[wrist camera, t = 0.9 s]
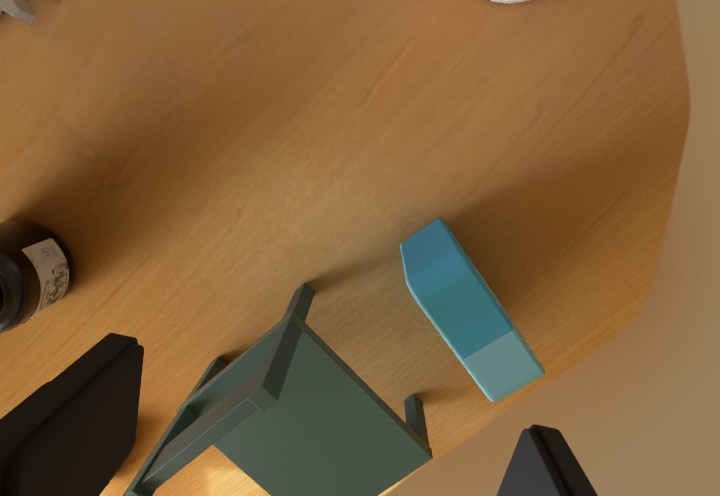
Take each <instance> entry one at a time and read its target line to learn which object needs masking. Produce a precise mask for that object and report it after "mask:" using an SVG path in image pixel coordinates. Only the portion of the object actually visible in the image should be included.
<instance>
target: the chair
mask: <svg viewBox="0 0 720 496" xmlns="http://www.w3.org/2000/svg"><path fill="white" fill-rule="evenodd" d="M314 294H315V292H314V291H313V290H312V289H311V288H310V287H309V286H308V285H307V284H306V283H304V284H303V285H302V286H300V287H299V288H298V289H297V290H296V291H295V293H294V295H293V297H292V300H291V302H290V304H289V306H288V308H287V311H286V313H285V315H284V317H283V319H282V320H281V321H280V322H279V323H278V324H276V325H275V326H274V327H273V328H272V329H271V330H269V331H268V332H267V333H266V334H265V335H263V336H262V337H261V338H260V339H259V340H257V341H256V342H255V343H254V344H253V345H252V346H250V347H249V348H248V349H247V350H246V351H244V352H243V353H242V354H241V355H240V356H238V357H237V358H236V359H235V360H234V361H233V362H231V363H230V364H229V365H228V364H227V363H226V362H225V361H223V360H222V359H221V358H220V357H217V358H216V359H215V360H214V361H213V362H211V363H210V365H209V366H208V368H207V369H206V371H205V372H204V374H203V375H202V377H201V378H200V380H199V381H198V383H197V384H196V386H195V387H194V389H193V390H192V392H191V393H190V395H189V396H188V398H187V399H186V401H185V402H184V403H183V404H181V406H180V407H179V409H178V410H177V412H176V413H177V414H176V416H175V417H174V419H173V420H172V422H171V423H170V425H169V426H168V428H167V430H166V431H165V433H164V434H163V436H162V437H161V439H160V440H159V442H158V443H157V445H156V446H155V448H154V449H153V451H152V452H151V454H150V455H149V457H148V458H147V460H146V461H145V463H144V464H143V466H142V467H141V469H140V470H139V472H138V473H137V475H136V476H135V478H134V479H133V481H132V482H131V484H130V485H129V487H128V488H127V490H126V491H125V493H124V495H123V496H152V495H153V493H154V492H155V490H156V489H157V488H158V487H159V486H161V485H162V484H163V483H164V482H166V481H167V480H168V479H169V478H171V477H172V476H173V475H174V474H176V473H177V472H178V471H179V470H181V469H182V468H183V467H184V466H186V465H187V464H188V463H190V462H191V461H192V460H193V459H195V458H196V457H197V456H198V455H200V454H201V453H202V452H203V451H205V450H206V449H207V448H208V447H210V446H211V445H214V446H215V447H216V448H217V449H218V450H219V451H220V452H222V453H223V454H224V455H225V456H226V457H227V458H229V459H230V460H231V461H232V462H233V463H234V464H235V465H237V466H238V467H239V468H240V469H241V470H242V471H243V472H245V473H246V474H247V475H248V476H249V477H250V478H251V479H253V480H254V481H255V482H256V483H257V484H258V485H260V486H261V487H262V488H263V489H264V490H265V491H266V492H268V493H269V494H270V495H271V496H378V495H379V494H381V493H382V492H383V491H385V490H386V489H388V488H389V487H391V486H392V485H394V484H395V483H397V482H398V481H400V480H401V479H403V478H404V477H406V476H407V475H409V474H410V473H412V472H413V471H415V470H416V469H418V468H419V467H420V466H422V465H423V464H425V463H426V462H428V461H429V460H431V459H432V458H433V456H432V450H431V448H430V447H429V441H428V435H427V429H426V422H425V416H424V410H423V403H422V401H421V400H420V399H419V398H418V397H417V396H416V395H415V394H413V395H411V396H410V397H409V398H407V399H406V400H405V401H404V404H405V415H406V423H405V422H404V421H403V420H402V419H401V418H400V417H399V416H398V415H397V414H396V413H395V412H394V411H393V410H392V409H391V408H390V407H389V406H388V405H387V404H386V403H385V402H384V401H383V400H382V399H381V398H380V397H379V396H378V395H377V394H376V393H375V392H374V391H373V390H372V389H371V388H370V387H369V386H368V385H367V384H366V383H365V382H364V381H363V380H362V379H361V378H360V377H359V376H358V375H357V374H356V373H355V372H354V371H353V370H352V369H351V368H350V367H349V366H348V365H347V364H346V363H345V362H344V361H343V360H342V359H341V358H340V357H339V356H338V355H337V354H336V353H335V352H334V351H333V350H332V349H331V348H330V347H329V346H328V345H327V344H326V343H325V342H324V341H323V340H322V339H321V338H320V337H319V336H318V335H317V334H316V333H315V332H314V331H313V330H312V329H311V328H310V327H309V326H308V325H307V324H306V323H305V320H306V317H307V314H308V311H309V308H310V305H311V302H312V299H313V296H314Z"/></svg>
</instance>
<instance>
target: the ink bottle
mask: <svg viewBox="0 0 720 496" xmlns="http://www.w3.org/2000/svg"><path fill="white" fill-rule="evenodd" d="M73 277H74V265H73V260H72V257H71V254H70V252H69V250H68V249H67V247H66V246H65V244H64V243H63V242H62V241H61V240H60V239H59V238H58V237H57V236H56V235H55V234H53V233H52V232H51V231H49V230H48V229H46V228H44V227H42V226H40V225H38V224H35V223H32V222H28V221H22V220H12V221H6V222H2V223H0V333H3V332H6V331H9V330H11V329H13V328H15V327H17V326H19V325H20V324H23V323H25V322H26V321H28V320H29V319H31V318H33V317H35V316H36V315H38V314H40V313H41V312H43V311H44V310H46V309H48V308H50V307H51V306H53V305H54V304H56V303H57V302H58V301H60V300H61V299H62V298H63V297H64V296H65V295H66V294H67V293H68V291H69V289H70V287H71V285H72V282H73Z"/></svg>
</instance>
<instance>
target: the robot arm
mask: <svg viewBox="0 0 720 496" xmlns="http://www.w3.org/2000/svg"><path fill="white" fill-rule="evenodd" d="M490 1H493V2H500V3H507V4H508V3H521V2H526V1H530V0H490ZM143 355H144V348H143V346H141V345H138V341H137V339H136V338H133V337H129V336H124V335H120V334H115V333H110V334H108V335H107V336H106V337H104V338H103V339H102V340H101V341H99V342H98V343H97V344H96V345H95V346H93V347H92V348H91V349H90V350H88V351H87V352H86V353H85V354H84V355H82V356H81V357H80V358H79V359H78V360H76V361H75V362H74V363H73V364H71V365H70V366H69V367H68V368H67V369H65V370H64V371H63V372H62V373H60V374H59V375H58V376H57V377H56V378H54V379H53V380H52V381H50V382H47V383H46V384H44V385H42V386H41V387H40V388H39V389H37V390H36V391H35V392H34V393H32V394H31V395H30V396H29V397H27V398H26V399H25V400H24V401H23V402H21V403H20V404H19V405H18V406H16V407H15V408H14V409H13V410H11V411H10V412H9V413H8V414H7V415H5V416H4V417H3V418H2V419H0V496H99V495H100V494H101V492H102V491H103V490H104V488H105V487H106V485H107V484H108V483H109V481H110V480H111V479H112V477H113V476H114V474H115V473H116V472H117V470H118V469H119V467H120V466H121V465H122V463H123V462H124V461H125V459H126V458H127V456H128V455H129V453H130V452H131V450H132V447H133V445H134V442H135V437H136V426H137V416H138V406H139V396H140V386H141V375H142V365H143ZM497 496H598V495H597V494H596V492H595V490H594V489H593V487H592V485H591V483H590V482H589V480H588V478H587V477H586V475H585V473H584V472H583V470H582V468H581V467H580V465H579V463H578V461H577V460H576V458H575V456H574V454H573V453H572V451H571V449H570V448H569V446H568V444H567V443H566V441H565V439H564V437H563V436H562V434H561V432H560V431H559V430H557V429H554V428H550V427H545V426H540V425H532V426H531V427H530V428H529V429H524V430H523V431H522V433H521V435H520V438H519V440H518V443H517V446H516V448H515V451H514V453H513V456H512V458H511V461H510V463H509V466H508V468H507V471H506V473H505V476H504V478H503V481H502V483H501V486H500V488H499V491H498V493H497Z"/></svg>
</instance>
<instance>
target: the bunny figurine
mask: <svg viewBox="0 0 720 496" xmlns="http://www.w3.org/2000/svg"><path fill="white" fill-rule="evenodd" d="M2 11H4V12H6V13H7V14H8V15H10V16H11V17H13V18H15V19H18V20H20V21H23V22H25V23H28V24H30V25H31V24H32V23H33V21H34V20H35V19H36V16H35V14H34V13H33V11H32V9H31V8H30V6H29V5H28V3H27V2H26V0H0V16H1V14H2Z"/></svg>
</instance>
